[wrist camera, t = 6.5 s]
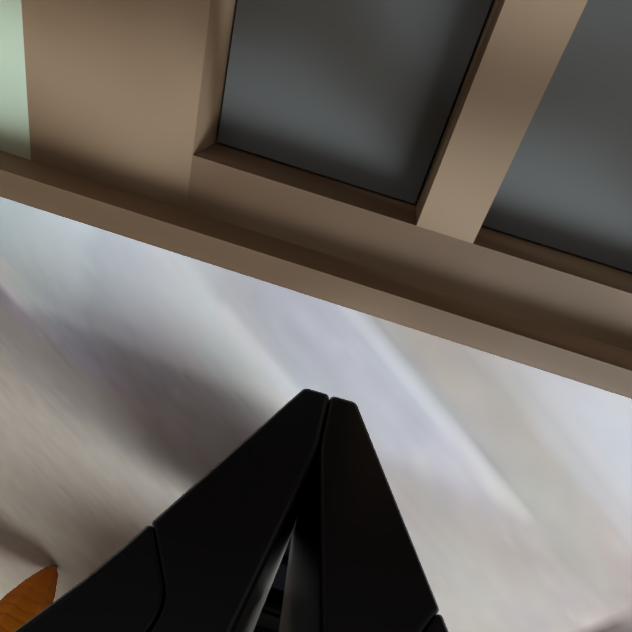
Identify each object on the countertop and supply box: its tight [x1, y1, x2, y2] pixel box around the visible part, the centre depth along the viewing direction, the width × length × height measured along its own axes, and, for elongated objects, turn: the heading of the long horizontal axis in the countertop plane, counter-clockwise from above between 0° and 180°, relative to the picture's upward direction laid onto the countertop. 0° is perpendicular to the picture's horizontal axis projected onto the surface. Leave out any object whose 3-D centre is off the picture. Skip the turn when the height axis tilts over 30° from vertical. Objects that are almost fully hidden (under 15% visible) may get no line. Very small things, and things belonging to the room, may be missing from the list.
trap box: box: [0, 0, 632, 399], centre depth 14 cm, size 14×34×6 cm, turn 75°
